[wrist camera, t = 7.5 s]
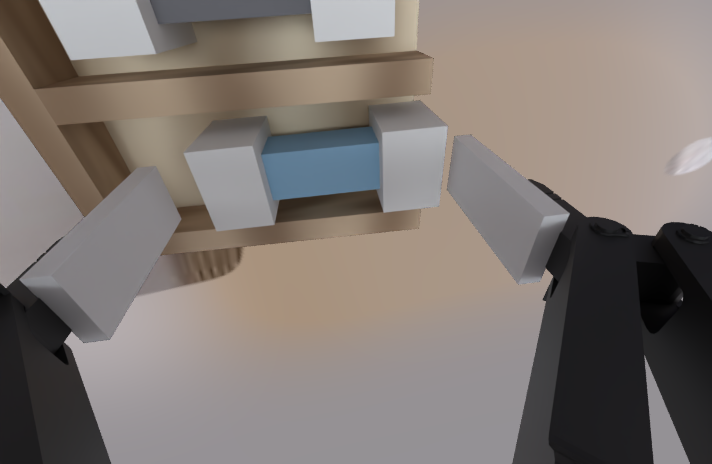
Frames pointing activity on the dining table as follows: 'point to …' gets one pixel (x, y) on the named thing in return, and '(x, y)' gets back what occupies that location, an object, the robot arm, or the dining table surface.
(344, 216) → the wooden compartment tray
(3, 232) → the dining table surface
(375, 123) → the blocky blue dumbbell
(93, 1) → the blocky gray dumbbell
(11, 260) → the dining table surface
